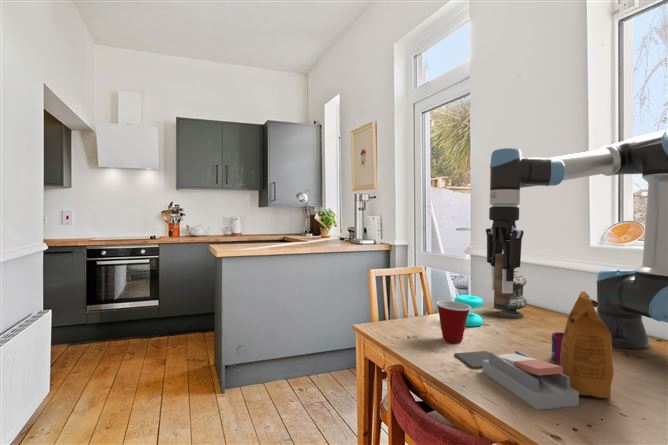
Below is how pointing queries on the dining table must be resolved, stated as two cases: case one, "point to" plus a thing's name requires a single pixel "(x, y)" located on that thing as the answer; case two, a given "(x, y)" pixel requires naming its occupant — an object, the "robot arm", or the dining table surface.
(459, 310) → the plastic cup
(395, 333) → the dining table surface
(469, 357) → the mat
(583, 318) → the coffee package
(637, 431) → the dining table surface
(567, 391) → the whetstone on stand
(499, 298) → the wooden pestle
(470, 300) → the donuts
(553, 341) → the cup
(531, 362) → the rocker
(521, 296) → the apothecary jar
